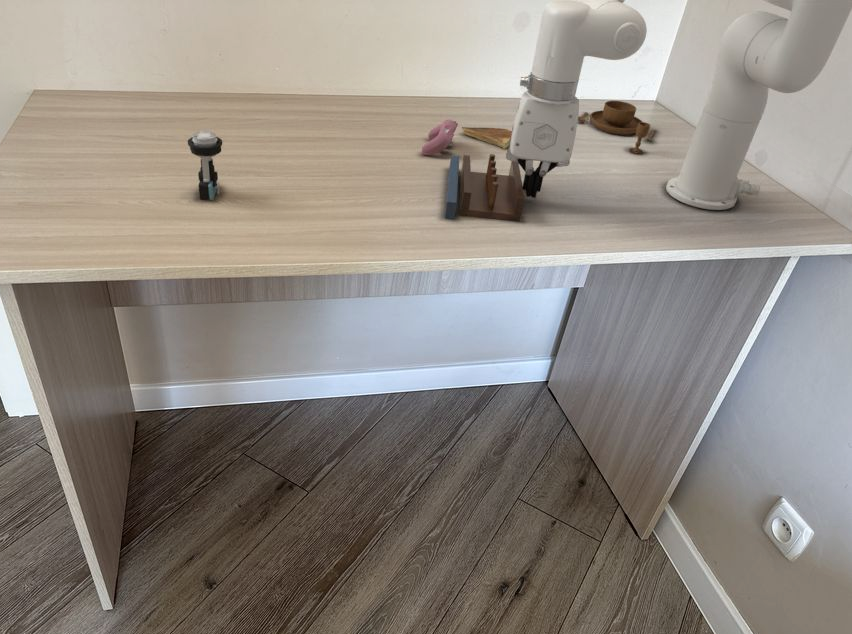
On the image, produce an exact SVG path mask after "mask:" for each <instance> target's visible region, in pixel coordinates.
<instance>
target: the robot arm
mask: <svg viewBox="0 0 852 634" xmlns="http://www.w3.org/2000/svg"><path fill="white" fill-rule="evenodd" d="M625 1H626V0H551V1H549V2H548V3H546V5H545V6H544V8H543V10H542V13H541V14H542V15H541V19H540V23H539V28H538V34H537V40H536V44H535V49H534V50H535V51H534V56H533V61H532V66H531V71H530V73H529V74H528V76H521V77H520V80H519V86H520V87H524V88H526V90H525V91H523V93H522V95H521V98H520V101H519V103H518V106H517V110H516V113H515V116H514V120H513V123H512V129H511V131H512V133H511V138H510V145H509V146H508V149H507V151H506V153H505V158H506V160H508V161H510V162H511V161H513V162H516V163H519V167H520V168H521V169H522V170H523V171H524V177H523V181H522V186H523V191H525V198H530V197H531V198H532V199H536V197H537V192H538V193H540V192H541V189H542V184H543V181H544V177H546V176H547V174H549V172H551V171H552V170H554V169H555V168H561V167H569V165H570V161H571V160H570V159H571V158H572V155H573V150H574V146H575V140H576V134H577V128H578V122H579V121H578V117H579V113H580V99H578V97H577V96H576V93H577V89H578V85H579V81H580V76H581V72H582V69H583V63H584V60H585V57H593V58H597V59H602V60H603V59H604V60H610V61H619V60H624V59H627V58H630V57H631V56H633V55H634V54H636V53H637V52H638V51H639V50H640V49H641V48H642V46H643V44H644V43H645V41H646V38H647V33H648V32H647V31H648V30H647V24H646V21H645V19H644V17H643V16H642V14H641V13H640V12H639V11H638V10H637V9H635V8H633V7H632V6H629V5H627V4H625ZM763 1H764V2H766V3H768V4H771V5H773V6H776V7H779V8H781V9H785V10H787V11H789V12H790V13H789V15H788V18H786V17H783V16H781V15H778V14H775V13H772V12H768V11H761V10H760V11H759V10H758V11H751V12H747V13H744V14H741V15H740V16H738V17H737V18H736V19H734V21H732V22H731V23H730V25H729V26H728V27H727V29H725V31H724V33H723V36H722V38H721V40H720V43H719V47H718V52H717V58H716V64H715V68H714V69H715V70H714V74H713V79H712V82H711V85H710V89H709V91H708V95H707V98H706V101H705V103H704V105H703V108H702V111H701V114H700V117H699V119H698V123H697V125H696V127H695V131H694V132H693V136H692V139H691V142H690V144H689V147H688V150H687V153H686V156H685V159H684V161H683V164H682V167H681V170H680V172H679V175H678V176H675V177H672V178H670V179H669V180H668V181H667V183H666V185H665V190H666V192H667V193H668V194H669V196H671V197H672V198H674V199H675V200H677V201H678V202H680V203H683V204H684V205H685V204H686V205H688V206H691V207H694V208H697V209H698V208H699V209H703V210H710V211H723V210H724V211H725V210H728V209H731V208H733V207H734V206H735V205H736V203H737V201H738V196H740V195H741V194H744V195H749V196H758V195H759V194H760V192H761V185H760V184H752V183H749V182H750V181H749V180H748V179H739V178H738V175H739V172H740V170H741V167H742V165H743V163H744V162H745V161H744V160H745V158H746V156H747V153H748V150H749V149H750V146H751V143H752V141H753V139H754V137H755V134H756V133H757V132H756V131H757V129H758V127H759V124H760V122H761V120H762V117H763V115H764V113H765V110H766V107H767V103H768V97H769V89H771V90H773V91H775V92H779V93H783V94H794V93H797V92H800V91H802V90H804V89H806V88H807V87H808V86H810V85H811V84H812V83H813V82H814V81H815V80H816V79H817V77H818V76H819V75H820V74H821V72H822V71H823V69H824V68H825V66H826V64H827V62H828V60H829V58H830V56H831V55H832V52H833V50H834V48H835V46H836V44H837V42H838V39H839V38H840V36H841V33H842V31H843V29H844V27H845V24H846V22H847V20H848V18H849V16H850V14H851V11H852V0H763ZM534 161H536V162H537V161H538V162H539V163H538V166H537V167H536V169H535V168H534ZM534 169H535V170H534Z"/></svg>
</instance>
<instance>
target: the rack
mask: <svg viewBox="0 0 852 634" xmlns="http://www.w3.org/2000/svg"><path fill="white" fill-rule="evenodd" d="M488 157H489V158H488V161H487V169H486V172H478V171H472V170H471V169H472V166H471V155H467V154H463V157H462V165H461V171H460V176H459V177H460V181H459V182H460V216H466V217H476V218H483V219H493V220H501V221H502V220H503V221H512V222H521V218H522V214H523V209H524V204H525V200H526V196H525V192H524V190H523V180H522V175H521V169H520V165H519V163H516V162H513V161H510V166H509V171H508V172H509V173H508V175H506V174H498V173H497V171H498V170H497V169H498V168H497V167H496V164H497V161H496V160H495V159H496V154H493V153H490V154H489V156H488Z"/></svg>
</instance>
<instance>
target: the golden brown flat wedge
mask: <svg viewBox="0 0 852 634" xmlns="http://www.w3.org/2000/svg"><path fill="white" fill-rule="evenodd" d="M461 129H462V131H463V132H462V133H463V135H467V136H469V137H472V138H475V139H478V140H480V141H483V142H486V143H488V144H490V145H495V146H498V147H500V148H502V149H503V150H505V149H507V148H509V146H510V138H511V133H512V130H510V129H508V128H500V127H498V128H497V127H468V126H467V127H465V126H462V127H461Z"/></svg>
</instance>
